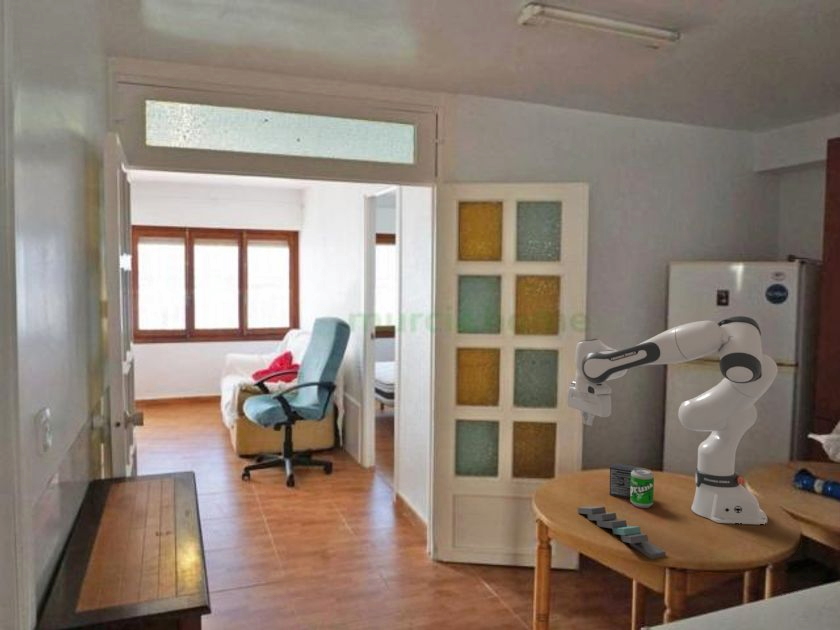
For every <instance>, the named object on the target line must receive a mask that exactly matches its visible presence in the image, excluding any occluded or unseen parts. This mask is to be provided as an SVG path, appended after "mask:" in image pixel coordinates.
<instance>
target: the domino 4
mask: <svg viewBox="0 0 840 630" xmlns="http://www.w3.org/2000/svg"><path fill="white" fill-rule="evenodd" d="M611 529H612V534H613V535H619V536H621V535H631V534H639V533H642V531H641V528H640V526H635V525H627V527H620V528H611Z"/></svg>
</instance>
